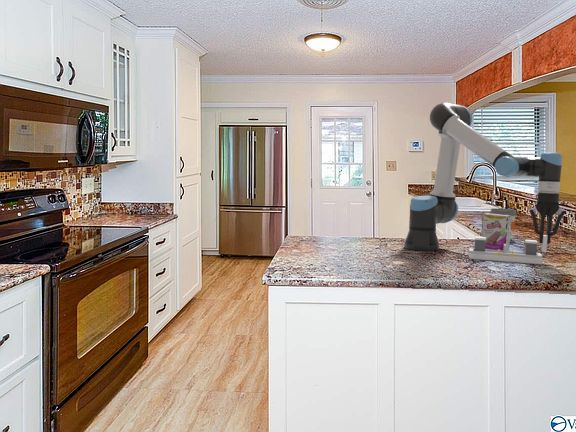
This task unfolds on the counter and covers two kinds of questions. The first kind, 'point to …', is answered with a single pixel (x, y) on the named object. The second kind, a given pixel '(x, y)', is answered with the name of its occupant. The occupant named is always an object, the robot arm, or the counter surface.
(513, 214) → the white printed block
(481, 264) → the counter surface
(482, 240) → the left tab
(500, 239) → the candy bar box
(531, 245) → the right tab
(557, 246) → the counter surface
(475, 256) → the switch bank
